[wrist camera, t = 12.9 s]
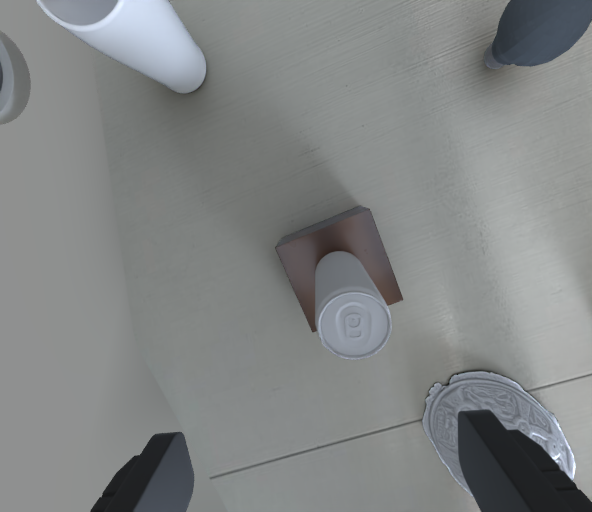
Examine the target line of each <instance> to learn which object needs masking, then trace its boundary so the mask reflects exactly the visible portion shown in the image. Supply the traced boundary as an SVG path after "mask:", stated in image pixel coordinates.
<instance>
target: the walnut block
mask: <svg viewBox="0 0 592 512" xmlns="http://www.w3.org/2000/svg"><path fill="white" fill-rule="evenodd" d="M275 249H276V251H277V253H278V255H279V258H280V260H281V262H282V264H283V267H284V269H285V271H286V273H287V276H288V278H289V280H290V282H291V285H292V287H293V289H294V291H295V294H296V296H297V298H298V300H299V303H300V305H301V307H302V309H303V312H304V314H305V316H306V318H307V321H308V323H309V325H310V327H311V330H312V332H315V331H317V329H316V325H315V270H316V267H317V265H318V263H319V261H320V260H321V259H322V258H323V257H324V256H325V255H327V254H329V253H331V252H336V251H344V252H348V253H351V254H352V255H354V256H355V257H356V258H357V259H358V260H359V261H360V262H361V264H362V265H363V267H364V269H365V270H366V272H367V273H368V275H369V276H370V278H371V280H372V281H373V283H374V284H375V286H376V288H377V289H378V291H379V292H380V294H381V296H382V297H383V299H384V300H385V302H386V304H387V306H388V305H391V304H394V303H396V302H399V301H402V300H403V297H402V295H401V292H400V289H399V287H398V284H397V281H396V279H395V276H394V273H393V271H392V268H391V265H390V262H389V260H388V257H387V254H386V252H385V249H384V246H383V244H382V241H381V238H380V235H379V233H378V230H377V227H376V225H375V222H374V219H373V217H372V214H371V211H370V209H368V208H365V207H362V206H358V207H356V208H353V209H351V210H348V211H346V212H344V213H341V214H339V215H336V216H334V217H332V218H329V219H327V220H324V221H322V222H319V223H317V224H315V225H312V226H310V227H307V228H305V229H303V230H300V231H298V232H295V233H293V234H291V235H288V236H286V237H283V238H282V239H281V240H280V241H279V243H278V244H277V246H276V247H275Z"/></svg>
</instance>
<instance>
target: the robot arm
mask: <svg viewBox="0 0 592 512" xmlns="http://www.w3.org/2000/svg"><path fill="white" fill-rule="evenodd" d="M2 83H3V72H2V66H1V62H0V91H1V88H2ZM458 457H459V463H460V467H461V470H462V473H463V476H464V479H465V481H466V483H467V485H468V487H469V489H470V491H471V493H472V495H473V497H474V498H475V500H476V502H477V504H478V506H479V508H480V510H481V512H592V502H591V501H590V500H589V499H588V498H587V496H586V495H585V494H584V493H583V492H582V491H581V490H578V489H577V487H576V484H575V483H574V482H573V481H572V480H571V479H570V477H569V476H568V475H567V474H566V473H565V472H564V471H561V469H560V466H559V465H558V464H557V463H556V462H555V461H554V460H553V459H552V457H551V456H550V455H549V454H548V453H547V452H546V451H545V450H544V448H543V447H542V446H541V445H539V444H538V443H536V442H535V441H534V440H532V439H531V438H529V437H528V436H526V435H525V434H523V433H522V432H521V431H519V430H518V429H514V430H507V429H506V428H505V427H504V425H503V424H502V423H501V422H500V421H499V419H498V418H497V417H496V416H495V414H494V413H493V412H492V411H491V410H489V409H482V410H469V411H459V413H458ZM193 487H194V472H193V468H192V464H191V460H190V456H189V452H188V448H187V445H186V441H185V437H184V435H183V433H182V432H173V433H160V434H155V435H154V436H152V438H151V439H150V440H149V442H148V444H147V445H146V447H145V448H144V450H143V451H142V453H141V454H140V455H138V456H134V457H133V458H132V459H131V460H130V461H129V462H127V463H126V464H125V465H124V466H123V467H122V468H121V469H120V470H119V471H118V472H117V473H116V474H115V476H114V477H113V479H112V480H111V482H110V483H109V485H108V486H107V487H106V489H105V490H104V492H103V495H102V497H100V498H99V499H98V501H97V502H96V504H95V505H94V506H93V508H92V509H91V512H186V510H187V507H188V505H189V502H190V499H191V496H192V492H193Z"/></svg>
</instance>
